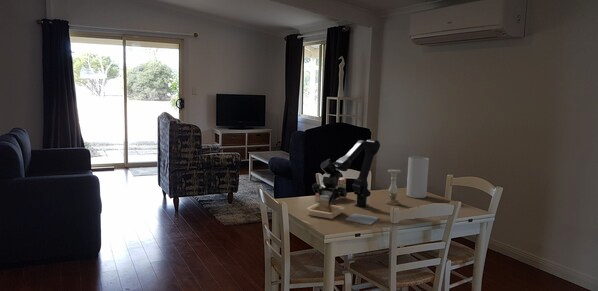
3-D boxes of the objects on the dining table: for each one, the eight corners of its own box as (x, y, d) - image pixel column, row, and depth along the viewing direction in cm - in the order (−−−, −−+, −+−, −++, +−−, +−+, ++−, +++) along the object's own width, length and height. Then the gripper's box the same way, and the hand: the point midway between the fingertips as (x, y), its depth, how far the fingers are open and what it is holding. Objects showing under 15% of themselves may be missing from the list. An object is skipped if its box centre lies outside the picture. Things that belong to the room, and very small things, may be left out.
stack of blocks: (322, 203, 268) (323, 182, 267) (315, 201, 273) (315, 180, 271) (345, 197, 284) (346, 178, 282) (337, 196, 288) (338, 176, 287)
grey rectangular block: (322, 212, 246) (323, 194, 245) (331, 213, 244) (332, 195, 243) (318, 214, 242) (319, 195, 240) (327, 215, 239) (328, 197, 238)
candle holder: (390, 205, 267) (392, 171, 265) (382, 202, 275) (384, 169, 273) (402, 204, 270) (404, 171, 268) (394, 201, 278) (396, 168, 276)
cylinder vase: (415, 193, 303) (417, 156, 300) (430, 197, 293) (432, 158, 290) (402, 195, 295) (404, 157, 292) (417, 199, 285) (420, 160, 282)
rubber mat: (353, 214, 245) (353, 213, 245) (379, 218, 239) (379, 217, 239) (344, 220, 232) (344, 219, 232) (370, 225, 226) (370, 224, 226)
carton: (317, 208, 254) (317, 202, 254) (345, 213, 246) (346, 207, 246) (303, 215, 239) (303, 209, 238) (333, 221, 231) (334, 214, 231)
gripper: (314, 168, 248) (304, 192, 239) (346, 172, 239) (337, 197, 231) (319, 180, 255) (310, 203, 247) (350, 184, 247) (342, 208, 239)
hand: (324, 203), depth 241 cm, fingers closed on grey rectangular block, 5 cm apart
